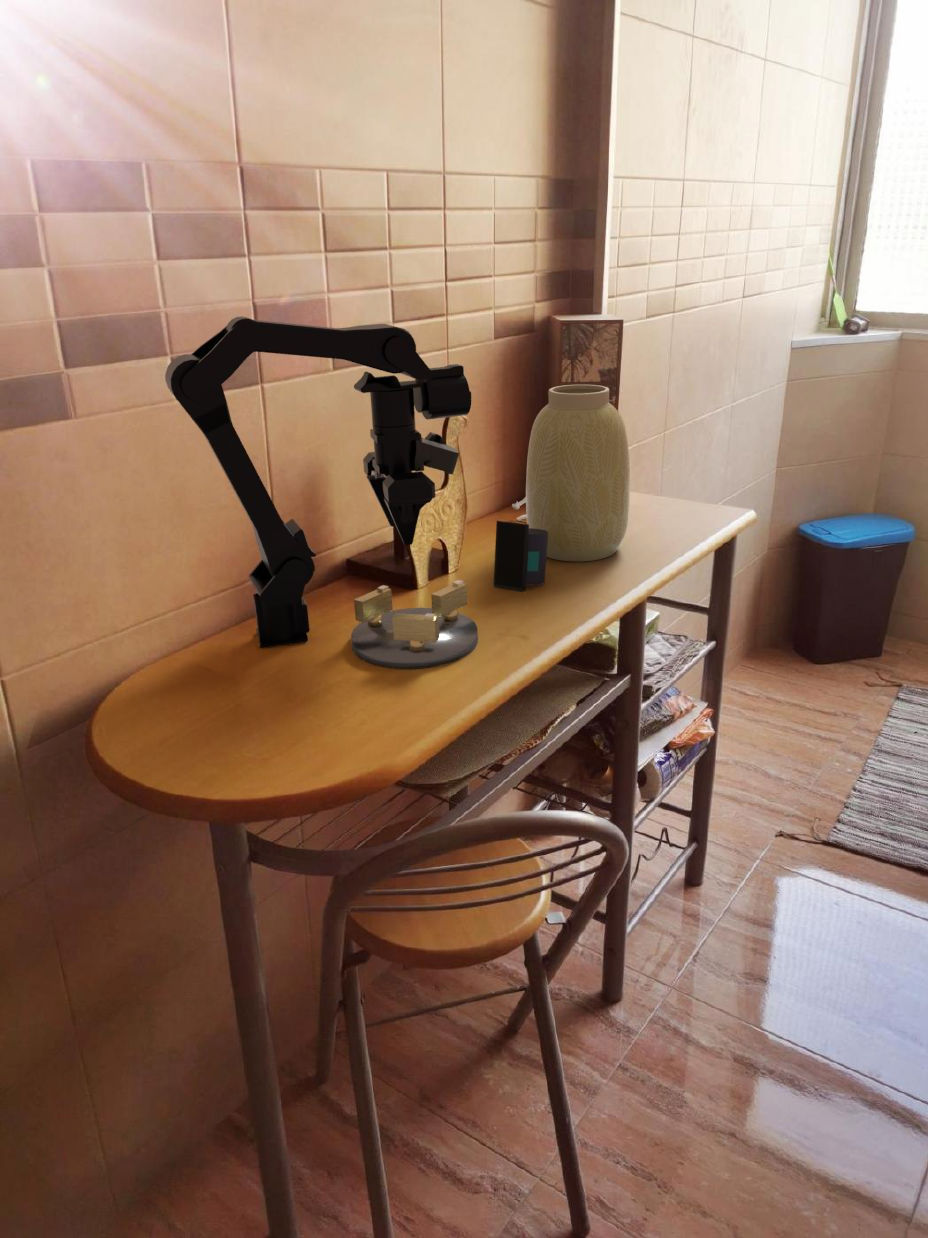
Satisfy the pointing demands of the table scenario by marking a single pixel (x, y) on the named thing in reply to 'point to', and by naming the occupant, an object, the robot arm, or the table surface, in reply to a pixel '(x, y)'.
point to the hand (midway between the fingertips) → (401, 534)
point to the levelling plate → (395, 654)
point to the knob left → (373, 606)
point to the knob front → (416, 629)
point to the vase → (579, 474)
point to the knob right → (449, 601)
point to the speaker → (519, 556)
